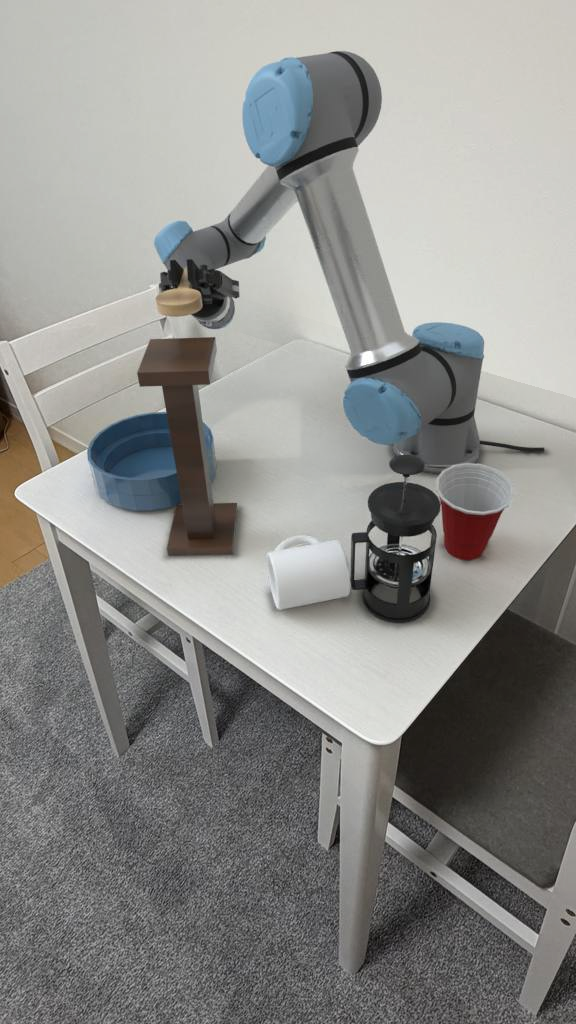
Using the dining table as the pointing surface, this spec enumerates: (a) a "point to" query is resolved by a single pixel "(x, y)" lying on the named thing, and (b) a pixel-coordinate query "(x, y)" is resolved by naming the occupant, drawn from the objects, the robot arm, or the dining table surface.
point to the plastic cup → (471, 506)
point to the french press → (398, 544)
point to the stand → (189, 444)
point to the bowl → (139, 463)
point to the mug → (307, 572)
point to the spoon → (179, 299)
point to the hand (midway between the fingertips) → (181, 270)
